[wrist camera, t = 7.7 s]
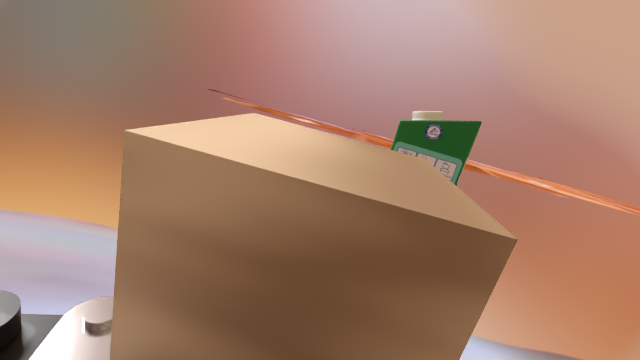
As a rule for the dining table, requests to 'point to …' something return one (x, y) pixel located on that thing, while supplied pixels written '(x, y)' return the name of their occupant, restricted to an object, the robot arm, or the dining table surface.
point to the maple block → (293, 248)
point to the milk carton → (437, 141)
